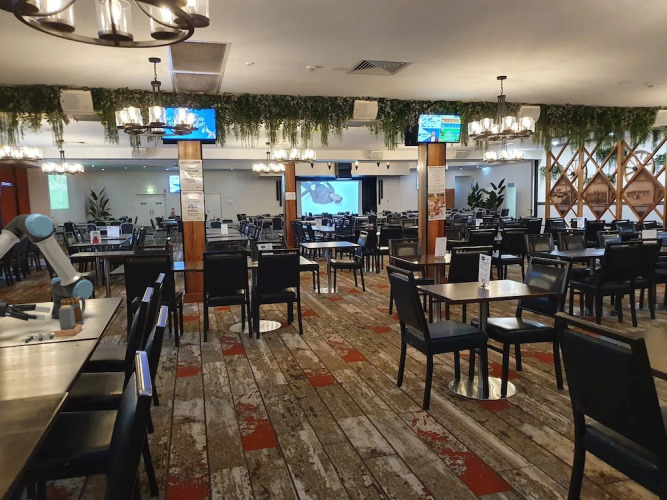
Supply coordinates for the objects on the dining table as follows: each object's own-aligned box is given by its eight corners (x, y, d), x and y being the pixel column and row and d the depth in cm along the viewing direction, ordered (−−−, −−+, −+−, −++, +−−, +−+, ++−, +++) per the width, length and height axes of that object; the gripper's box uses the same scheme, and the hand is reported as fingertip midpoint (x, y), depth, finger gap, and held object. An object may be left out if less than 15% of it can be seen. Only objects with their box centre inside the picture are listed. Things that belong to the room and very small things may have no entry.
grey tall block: (65, 331, 241) (62, 305, 239) (75, 330, 241) (73, 304, 240) (61, 333, 236) (58, 307, 234) (72, 333, 237) (69, 307, 235)
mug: (74, 330, 249) (71, 301, 247) (56, 329, 251) (53, 301, 250) (94, 322, 264) (92, 295, 263) (78, 321, 267) (75, 295, 265)
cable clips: (38, 338, 233) (38, 333, 232) (51, 337, 233) (50, 332, 233) (34, 340, 228) (34, 335, 228) (47, 339, 229) (46, 334, 229)
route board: (34, 334, 245) (34, 331, 244) (85, 330, 248) (84, 327, 248) (17, 345, 227) (17, 342, 227) (72, 340, 231) (72, 338, 231)
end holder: (63, 331, 243) (62, 325, 243) (82, 330, 244) (81, 324, 244) (55, 337, 233) (54, 331, 233) (75, 335, 235) (74, 329, 234)
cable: (31, 338, 233) (31, 335, 232) (55, 336, 234) (55, 333, 234) (24, 343, 225) (24, 340, 225) (49, 341, 227) (48, 338, 227)
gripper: (3, 309, 244) (50, 314, 252) (-12, 324, 221) (41, 328, 229) (5, 294, 243) (53, 300, 251) (-10, 308, 220) (43, 313, 228)
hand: (47, 313), depth 240 cm, fingers open, 13 cm apart
